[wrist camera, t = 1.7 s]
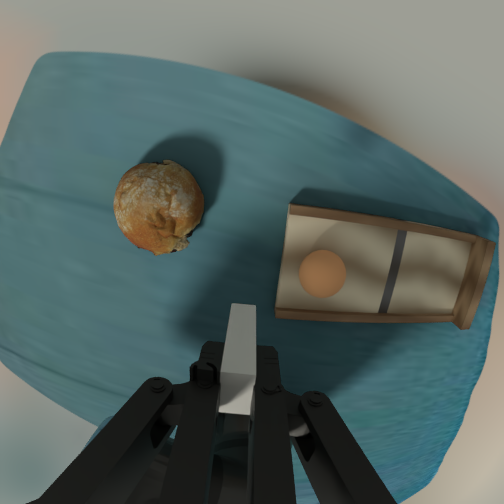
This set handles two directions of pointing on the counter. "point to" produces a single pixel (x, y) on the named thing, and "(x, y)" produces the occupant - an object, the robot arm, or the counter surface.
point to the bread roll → (158, 206)
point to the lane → (383, 269)
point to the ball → (322, 273)
